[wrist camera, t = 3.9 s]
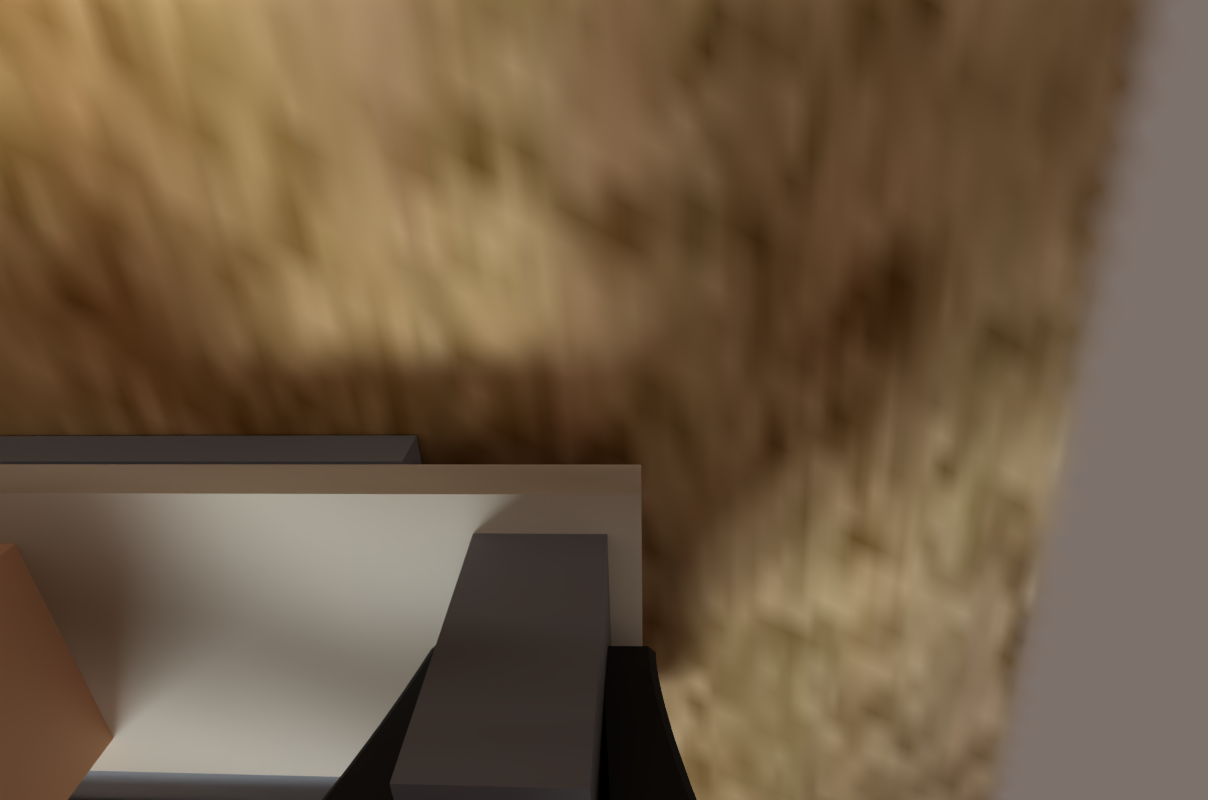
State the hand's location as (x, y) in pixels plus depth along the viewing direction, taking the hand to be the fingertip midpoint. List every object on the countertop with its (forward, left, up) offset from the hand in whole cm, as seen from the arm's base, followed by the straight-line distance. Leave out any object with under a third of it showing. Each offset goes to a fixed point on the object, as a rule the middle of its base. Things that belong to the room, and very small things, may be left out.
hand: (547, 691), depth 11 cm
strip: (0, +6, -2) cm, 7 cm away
